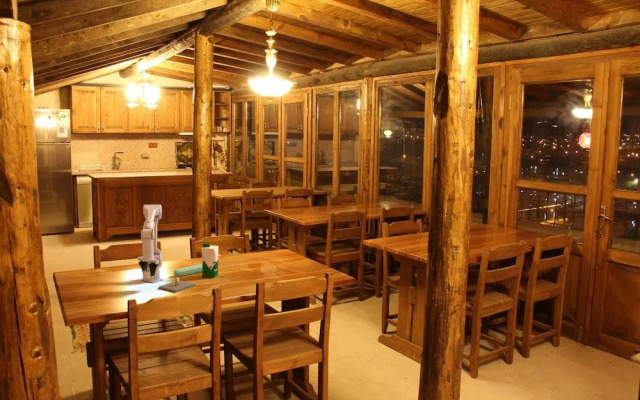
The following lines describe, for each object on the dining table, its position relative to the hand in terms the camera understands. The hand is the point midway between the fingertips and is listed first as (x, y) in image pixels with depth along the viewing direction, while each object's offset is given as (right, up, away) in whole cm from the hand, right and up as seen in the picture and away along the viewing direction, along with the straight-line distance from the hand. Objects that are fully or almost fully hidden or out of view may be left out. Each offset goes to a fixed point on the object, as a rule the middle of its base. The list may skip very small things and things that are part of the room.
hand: (148, 275), depth 303 cm
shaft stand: (+14, -8, +7) cm, 17 cm away
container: (+16, -4, +35) cm, 39 cm away
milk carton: (+28, -5, +30) cm, 41 cm away
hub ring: (0, -1, 0) cm, 1 cm away
